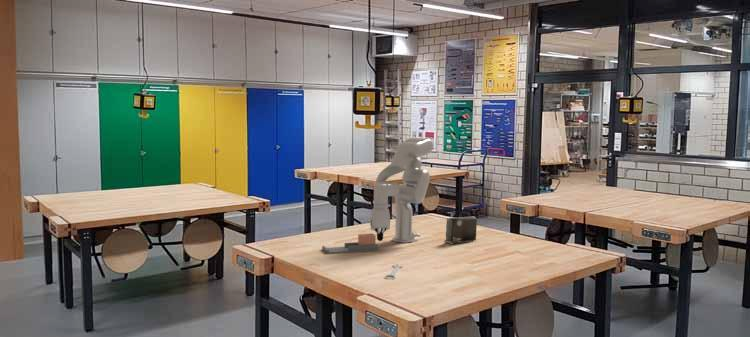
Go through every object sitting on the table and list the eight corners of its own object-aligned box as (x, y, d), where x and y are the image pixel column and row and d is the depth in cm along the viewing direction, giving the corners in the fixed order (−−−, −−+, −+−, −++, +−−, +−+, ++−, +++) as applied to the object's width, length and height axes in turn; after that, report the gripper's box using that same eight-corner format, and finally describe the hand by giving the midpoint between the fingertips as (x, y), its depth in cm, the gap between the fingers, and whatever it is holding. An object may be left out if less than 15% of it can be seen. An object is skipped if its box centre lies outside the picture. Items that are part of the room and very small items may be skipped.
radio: (472, 238, 343) (473, 213, 341) (482, 240, 336) (483, 215, 334) (441, 242, 330) (442, 216, 329) (451, 245, 323) (452, 218, 322)
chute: (372, 246, 317) (372, 240, 316) (378, 250, 307) (378, 244, 307) (322, 249, 307) (322, 244, 307) (327, 254, 298) (327, 248, 298)
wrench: (404, 267, 278) (393, 266, 279) (404, 264, 278) (393, 263, 279) (394, 281, 254) (383, 280, 255) (395, 277, 253) (383, 276, 255)
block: (372, 245, 314) (372, 233, 313) (375, 247, 309) (375, 235, 309) (358, 246, 311) (358, 234, 311) (361, 248, 307) (361, 236, 306)
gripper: (391, 205, 317) (390, 238, 318) (365, 205, 312) (364, 239, 313) (396, 207, 310) (395, 241, 311) (369, 208, 305) (369, 242, 306)
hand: (380, 240), depth 312 cm, fingers closed
